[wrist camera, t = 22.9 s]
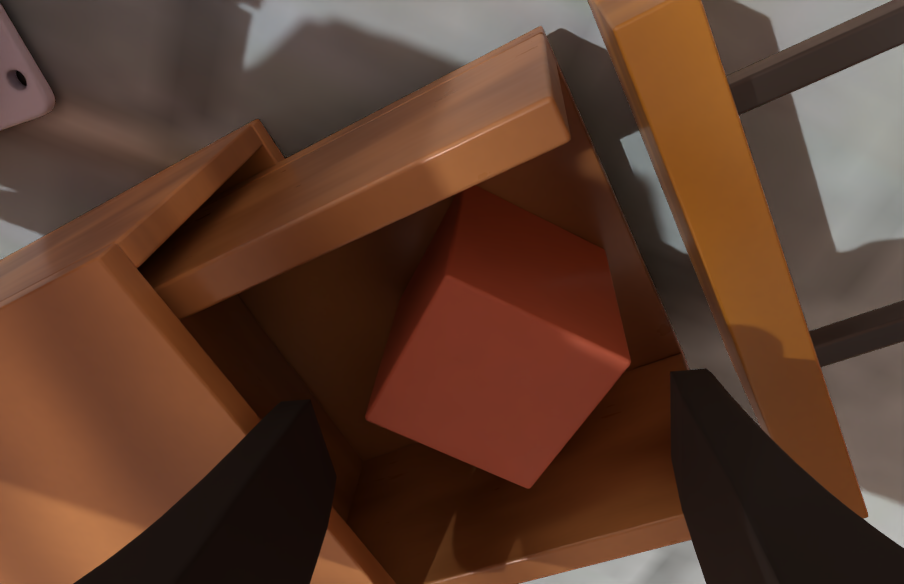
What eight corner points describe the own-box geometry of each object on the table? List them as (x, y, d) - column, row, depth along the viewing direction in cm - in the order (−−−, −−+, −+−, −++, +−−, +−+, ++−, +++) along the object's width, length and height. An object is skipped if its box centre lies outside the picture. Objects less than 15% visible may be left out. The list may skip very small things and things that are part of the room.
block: (397, 301, 18) (362, 420, 14) (464, 178, 16) (445, 274, 12) (528, 361, 19) (529, 491, 15) (606, 249, 17) (633, 362, 13)
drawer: (912, -202, 13) (1204, -270, 7) (991, 263, 17) (1207, 435, 12) (162, 200, 19) (12, 329, 13) (369, 471, 23) (322, 652, 18)
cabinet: (258, 117, 18) (97, 257, 11) (468, 437, 23) (446, 669, 16) (-87, 307, 22) (-357, 493, 15) (154, 542, 27) (31, 761, 20)
